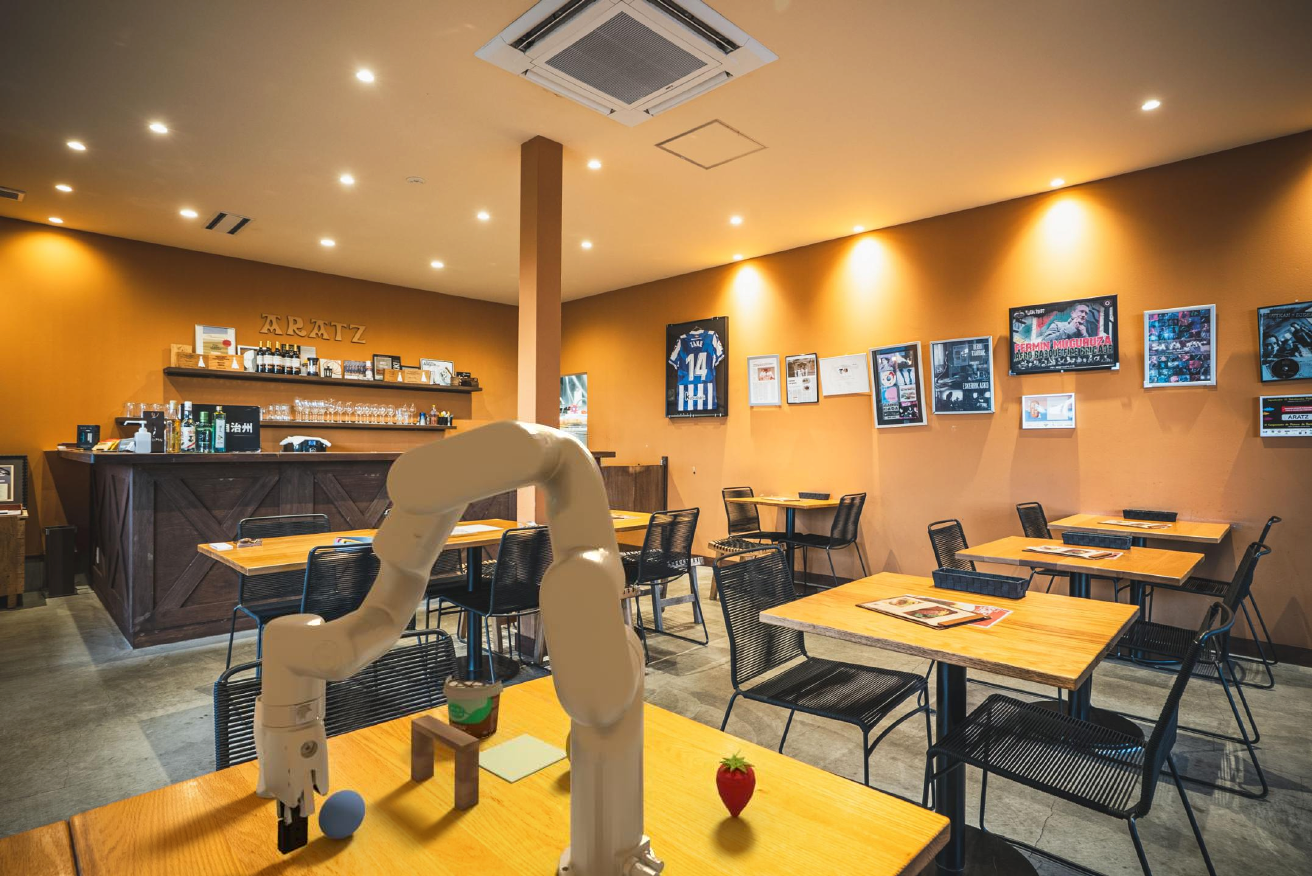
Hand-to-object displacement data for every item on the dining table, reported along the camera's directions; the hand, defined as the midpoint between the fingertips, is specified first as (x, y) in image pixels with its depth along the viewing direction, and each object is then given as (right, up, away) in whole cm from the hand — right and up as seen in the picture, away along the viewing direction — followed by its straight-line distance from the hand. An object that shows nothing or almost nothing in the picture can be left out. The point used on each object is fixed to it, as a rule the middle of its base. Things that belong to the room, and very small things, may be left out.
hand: (292, 847), depth 86 cm
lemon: (+36, -2, +24) cm, 43 cm away
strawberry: (+61, -2, +9) cm, 61 cm away
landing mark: (+24, -2, +28) cm, 38 cm away
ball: (+4, +2, +5) cm, 7 cm away
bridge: (+15, -2, +17) cm, 23 cm away
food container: (+12, -3, +37) cm, 40 cm away
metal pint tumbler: (-12, -2, +18) cm, 22 cm away
